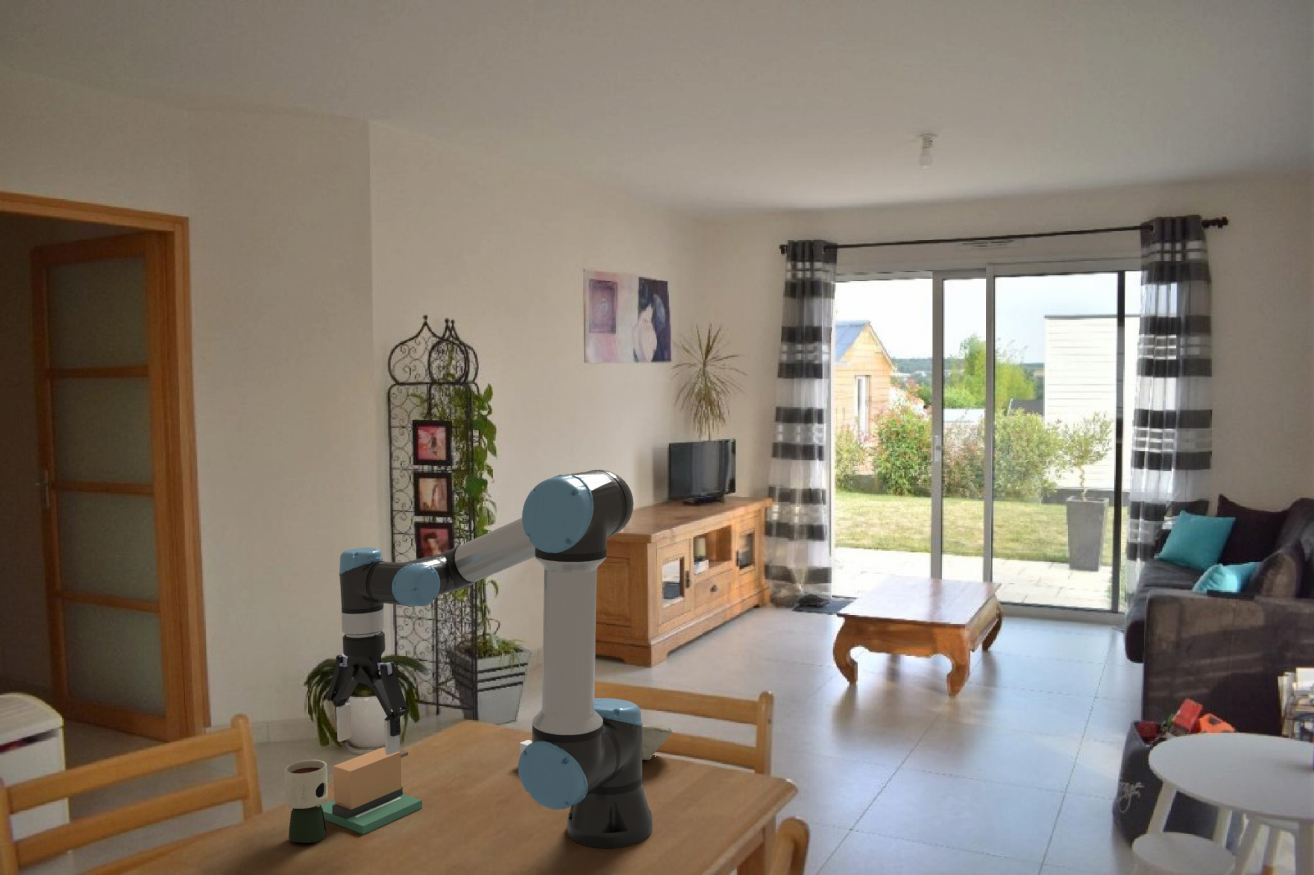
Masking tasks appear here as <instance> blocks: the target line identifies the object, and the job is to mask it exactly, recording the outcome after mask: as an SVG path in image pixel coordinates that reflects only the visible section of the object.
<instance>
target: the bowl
mask: <svg viewBox="0 0 1314 875" xmlns="http://www.w3.org/2000/svg"><path fill="white" fill-rule="evenodd" d="M672 734H673V731H672V728H671V727H670V726H666V725H663V724H662V725H661V724H652V723H651V724H643V726H642V761H644V760H645V761H650V760H651V759H652V758H653V755H654V754H655V753H656V752H657V751H658V750H659V748H660V747H661V746H662V745H664V743H665V742H667V740H668V738H670V735H672ZM650 755H651V756H650Z"/></svg>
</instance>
